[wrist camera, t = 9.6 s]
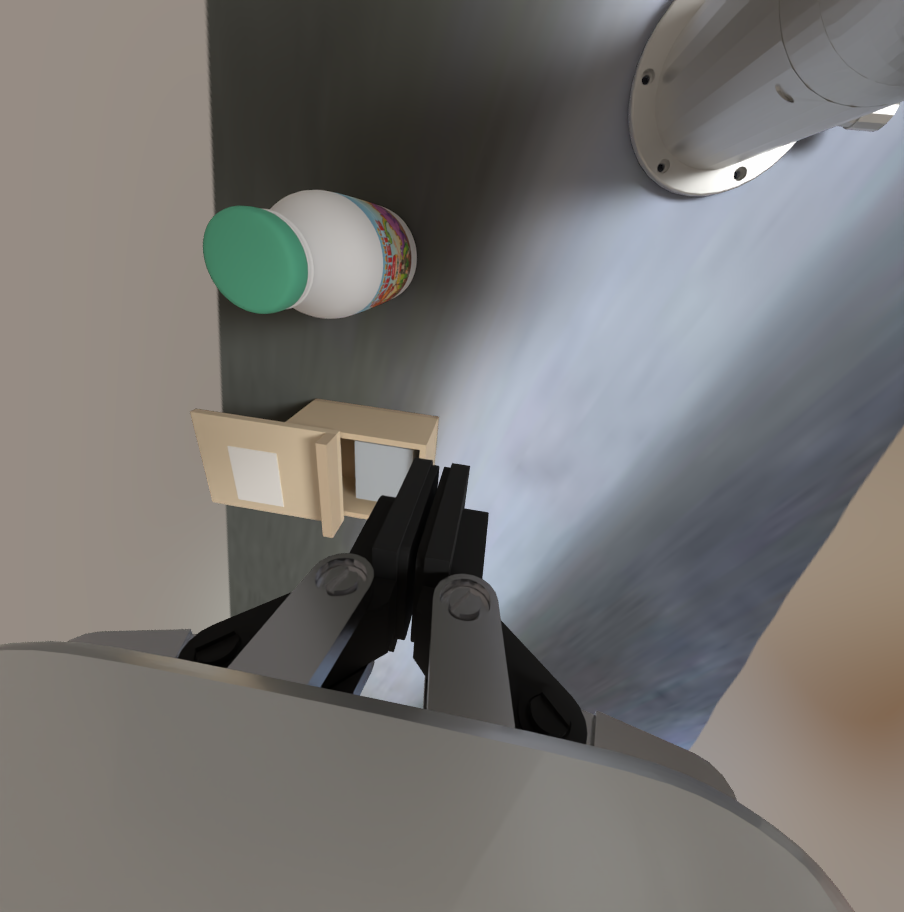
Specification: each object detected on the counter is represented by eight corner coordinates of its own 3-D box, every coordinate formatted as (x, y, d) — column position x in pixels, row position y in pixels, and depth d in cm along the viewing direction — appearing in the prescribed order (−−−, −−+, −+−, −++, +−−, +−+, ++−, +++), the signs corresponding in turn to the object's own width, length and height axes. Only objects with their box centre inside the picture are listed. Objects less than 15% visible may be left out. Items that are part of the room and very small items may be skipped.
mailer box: (438, 416, 42) (426, 445, 36) (432, 491, 47) (420, 528, 41) (316, 398, 43) (283, 423, 37) (321, 473, 48) (293, 506, 42)
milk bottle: (346, 303, 38) (204, 351, 20) (328, 210, 34) (136, 171, 17) (423, 297, 36) (342, 343, 19) (412, 200, 33) (301, 148, 15)
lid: (339, 430, 36) (326, 444, 33) (344, 519, 41) (332, 537, 39) (195, 408, 37) (172, 420, 34) (217, 497, 42) (198, 514, 40)
